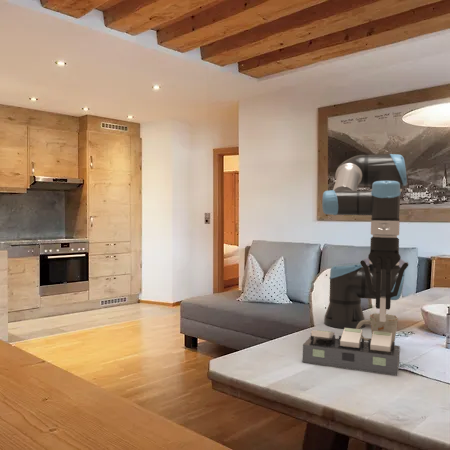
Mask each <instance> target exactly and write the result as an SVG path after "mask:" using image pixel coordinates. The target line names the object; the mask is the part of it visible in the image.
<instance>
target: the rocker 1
mask: <svg viewBox="0 0 450 450" xmlns="http://www.w3.org/2000/svg"><path fill="white" fill-rule="evenodd" d="M333 335H335V332H333V331H327V330H314V329H313V330H311V332H310V337H311V336H317V337H326V338H332V336H333Z"/></svg>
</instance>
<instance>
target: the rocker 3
mask: <svg viewBox="0 0 450 450" xmlns="http://www.w3.org/2000/svg"><path fill="white" fill-rule="evenodd" d="M391 342H392V333H389V332H379V331H373V335H372V334H371V344H370V350H378V351H386V352H390V349H391Z"/></svg>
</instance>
